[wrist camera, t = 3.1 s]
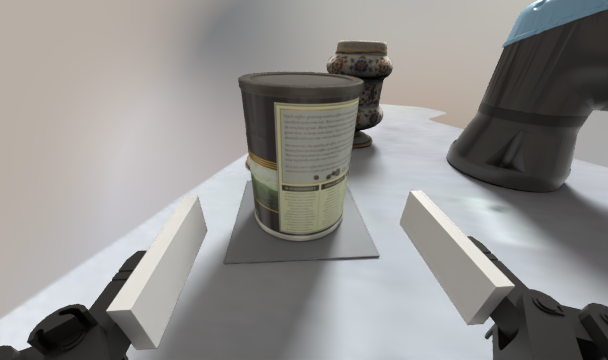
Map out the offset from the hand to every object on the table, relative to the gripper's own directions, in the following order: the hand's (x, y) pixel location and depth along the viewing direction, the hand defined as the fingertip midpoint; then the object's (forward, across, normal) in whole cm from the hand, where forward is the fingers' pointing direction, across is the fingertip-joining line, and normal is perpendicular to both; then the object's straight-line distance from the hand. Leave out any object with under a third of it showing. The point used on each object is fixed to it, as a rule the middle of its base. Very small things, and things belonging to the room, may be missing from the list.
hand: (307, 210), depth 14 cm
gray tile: (+9, 0, -7) cm, 12 cm away
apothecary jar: (+33, +12, -8) cm, 36 cm away
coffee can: (+9, 0, -7) cm, 12 cm away
